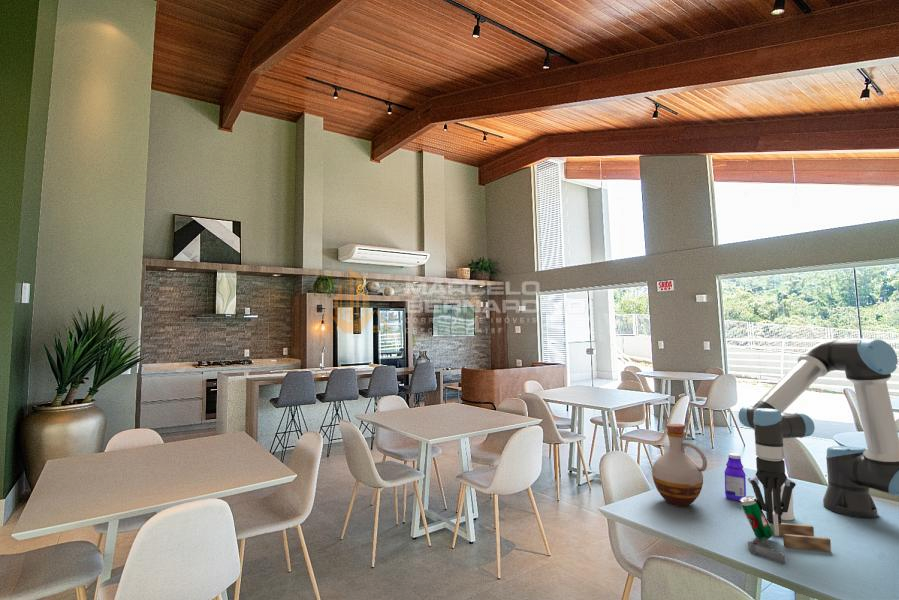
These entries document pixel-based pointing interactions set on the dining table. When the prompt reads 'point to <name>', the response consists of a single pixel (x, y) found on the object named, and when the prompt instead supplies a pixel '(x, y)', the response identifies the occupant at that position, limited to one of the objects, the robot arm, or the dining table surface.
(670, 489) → the jug
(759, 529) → the soda can
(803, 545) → the guide channel
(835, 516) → the dining table surface
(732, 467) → the bottle
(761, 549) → the v block
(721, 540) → the dining table surface
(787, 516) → the mug
